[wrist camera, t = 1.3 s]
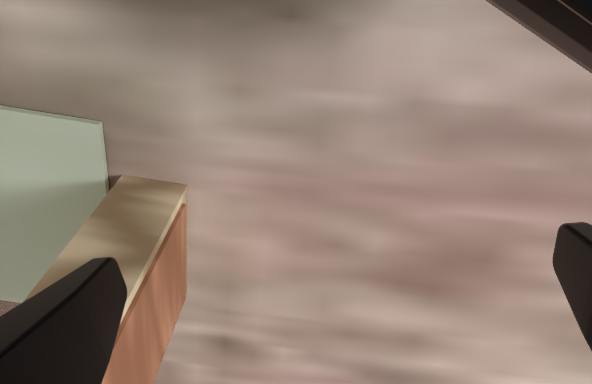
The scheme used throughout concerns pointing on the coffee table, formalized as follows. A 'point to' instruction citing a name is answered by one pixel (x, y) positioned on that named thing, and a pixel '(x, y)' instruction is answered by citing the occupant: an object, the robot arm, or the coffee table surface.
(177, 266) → the birch tile
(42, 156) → the mat
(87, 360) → the robot arm
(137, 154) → the coffee table surface
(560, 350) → the coffee table surface
